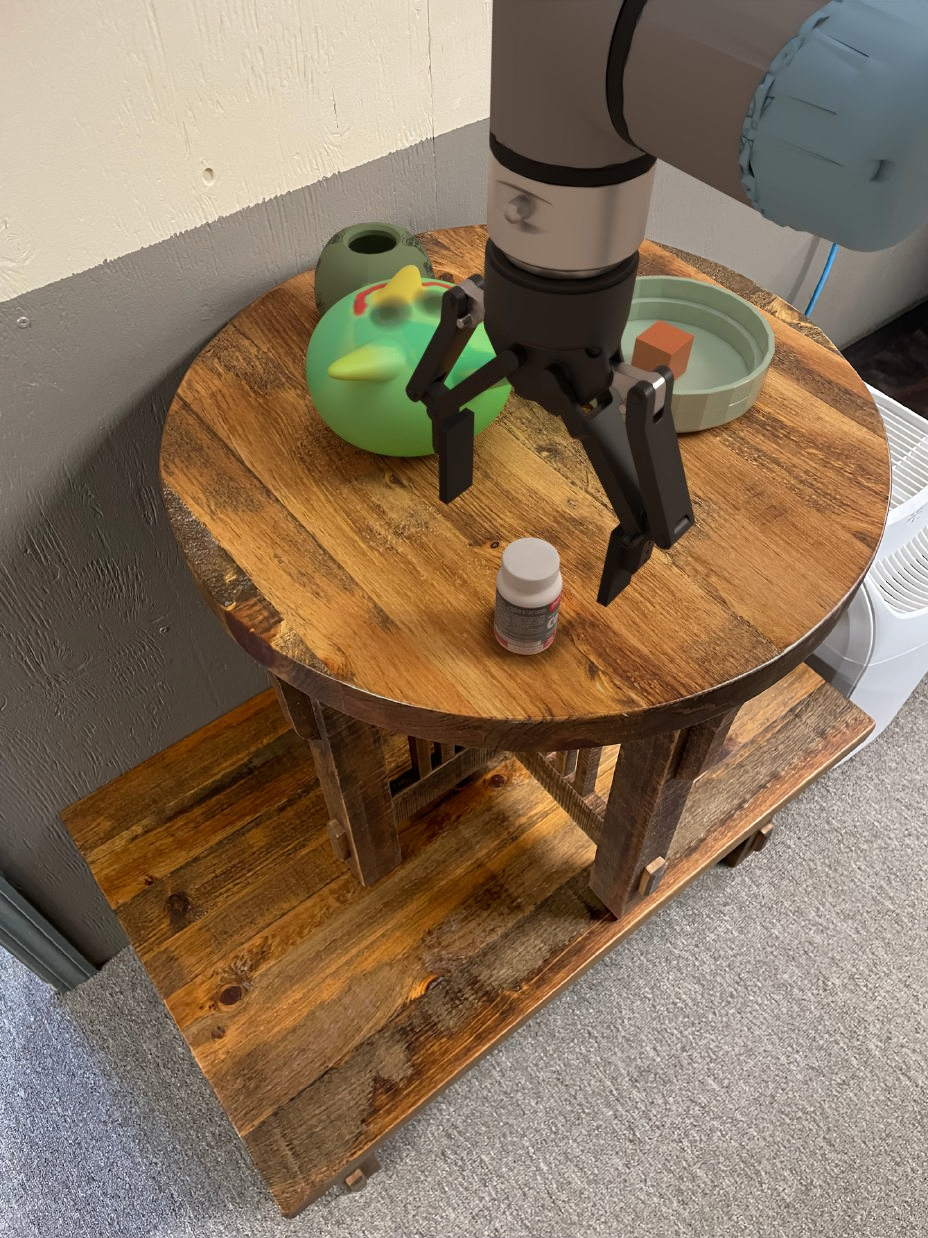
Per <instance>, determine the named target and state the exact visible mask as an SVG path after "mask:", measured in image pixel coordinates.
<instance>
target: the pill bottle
mask: <svg viewBox="0 0 928 1238" xmlns="http://www.w3.org/2000/svg"><path fill="white" fill-rule="evenodd" d="M560 562H561V560H560V555H559V552H558V551H557V548H555V546H554V545H552V544H551V543H549V542H548V541H546V540H545V539H541V538H538V537H522V538H518V539H516V540H513V541H511V542H510V543H509V544H507V546H506V547H505V548H504V550H503V552H502V556H501V563H500V568H499V569H498V572H497V574H496V578H495V579H496V581H495V603H494V623H493V631H494V635H495V638H496V640H497V642H498V643H499V645H500V646H501V647H503V648H504V649H506V650H508V651H509V652H511V653H514V654H518V655H524V656H530V655H536V654H539V653H541V652H543V651H545V650H547V649H548V648H549V647H550V646H551V644H552V643H553V642H554V639H555V637H556V635H557V628H558V620H559V613H560V606H561V598H562V592H563V576H562V574H561V571H560Z"/></svg>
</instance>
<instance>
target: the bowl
mask: <svg viewBox="0 0 928 1238" xmlns="http://www.w3.org/2000/svg"><path fill="white" fill-rule="evenodd" d="M659 320H661V321H663V322H665V323H667V324H669V325H671V326H674V327H676V328H678V329H680V330H682V331H685V332H687V333H689V334H691V335H693V336H694V340H693V344H692V348H691V352H690V356H689V361H688V365H687V369H686V372H684V373H683V374H682V375H681V376H680V377H678V378H677V379H676V380H675V381H674V386H673V394H672V402H671V411H672V416H673V420H674V425H675V430H676V434H679V433H680V434H681V433H682V434H683V433H694V432H700V431H704V430H708V429H712V428H715V427H719V426H723V425H725V424H728V423H730V422H731V421H734V420H735V419H737V418H740V417H742V416H743V415H745V413H746V412H747V411H749V409H751V408H752V407H753V406H754V405H755V404H756V403H757V401H758V400H759V397H760V394H761V392H762V390H763V389H764V385H765V382H766V379H767V377H768V373H769V370H770V367H771V365H772V361H773V359H774V355H775V352H776V341H775V340H776V339H775V332H774V331H773V329H772V327H771V325H770V323H769V321H768V319H767V318H766V317H765V316H764V315H763V314H762V313H761V312H760V311H759V310H758V309H757V308H756V306H755V305H753V304H752V303H751V302H749V301H747V300H745V299H744V298H743V297H742V296H739V294H737V293H735V292H733V291H730V290H728V289H726V288H723V287H721V286H718V285H716V284H713V283H710V282H706V281H702V280H699V279H695V278H690V277H682V276H673V275H663V274H662V275H637V276H636V282H635V287H634V293H633V298H632V304H631V309H630V314H629V318H628V321H627V324H626V327H625V329H624V332H623V335H622V339H621V348H622V353H623V357H624V360H625V363H626V364H629V365H631V361H632V356H633V351H634V345H635V340H636V337H638V336H639V335H640V334H642V333H643V332H644V331H646V330H647V329H648V328H649V327H651V326H652V325H653V324H655V323H656V322H657V321H659ZM618 394H619V393H618ZM619 396H620V395H619ZM620 398H621V397H620ZM588 404H590V405H591V406H592V407H593V409H595V408H596V406H597V400H596V398H595V399H594V400H592V401H591V402H589V403H588ZM621 416H622V418H623V421H624V423H625V415H623V414H621ZM625 425H626V423H625Z"/></svg>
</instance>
